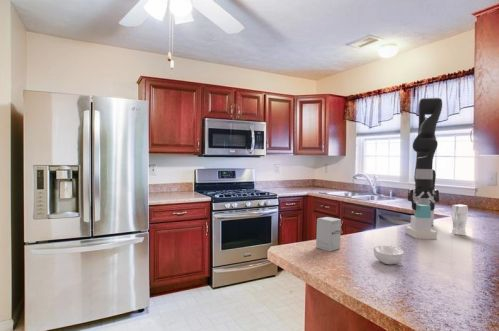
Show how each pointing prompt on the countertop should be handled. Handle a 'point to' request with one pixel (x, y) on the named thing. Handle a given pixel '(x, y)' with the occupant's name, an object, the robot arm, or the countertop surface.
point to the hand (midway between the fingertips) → (422, 210)
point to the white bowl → (388, 254)
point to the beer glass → (459, 219)
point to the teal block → (422, 211)
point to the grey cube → (421, 223)
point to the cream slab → (421, 233)
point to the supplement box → (328, 233)
